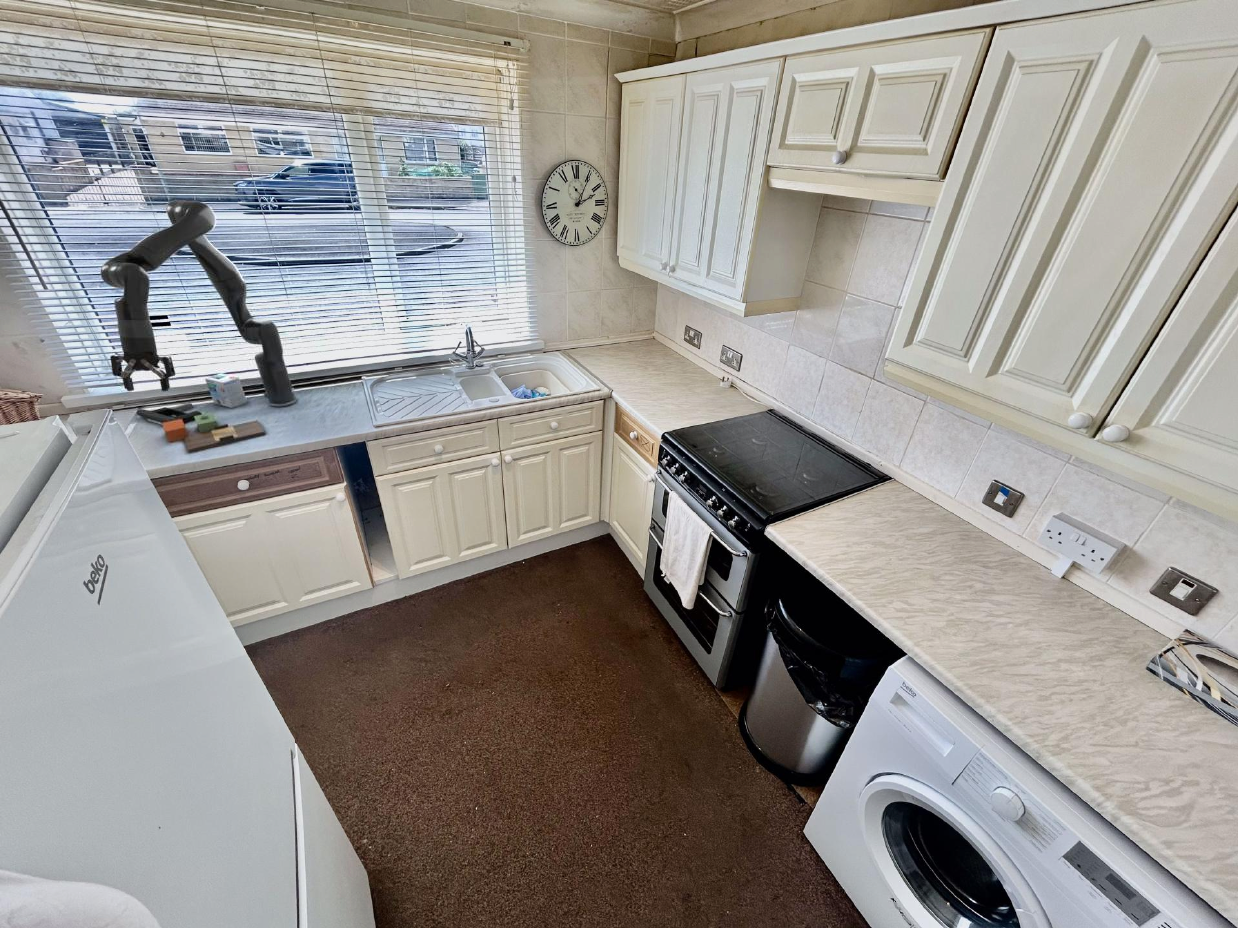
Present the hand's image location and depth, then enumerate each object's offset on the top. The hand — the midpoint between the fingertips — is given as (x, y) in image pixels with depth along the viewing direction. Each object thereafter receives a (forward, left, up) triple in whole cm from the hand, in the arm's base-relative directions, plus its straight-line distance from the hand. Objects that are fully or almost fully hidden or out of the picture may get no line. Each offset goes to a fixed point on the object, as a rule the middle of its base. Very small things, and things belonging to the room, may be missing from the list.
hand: (148, 390), depth 156 cm
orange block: (-22, +1, -24) cm, 33 cm away
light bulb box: (-44, +20, -24) cm, 54 cm away
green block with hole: (-22, +10, -24) cm, 35 cm away
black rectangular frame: (-42, +2, -25) cm, 48 cm away
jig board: (-11, +14, -24) cm, 30 cm away
